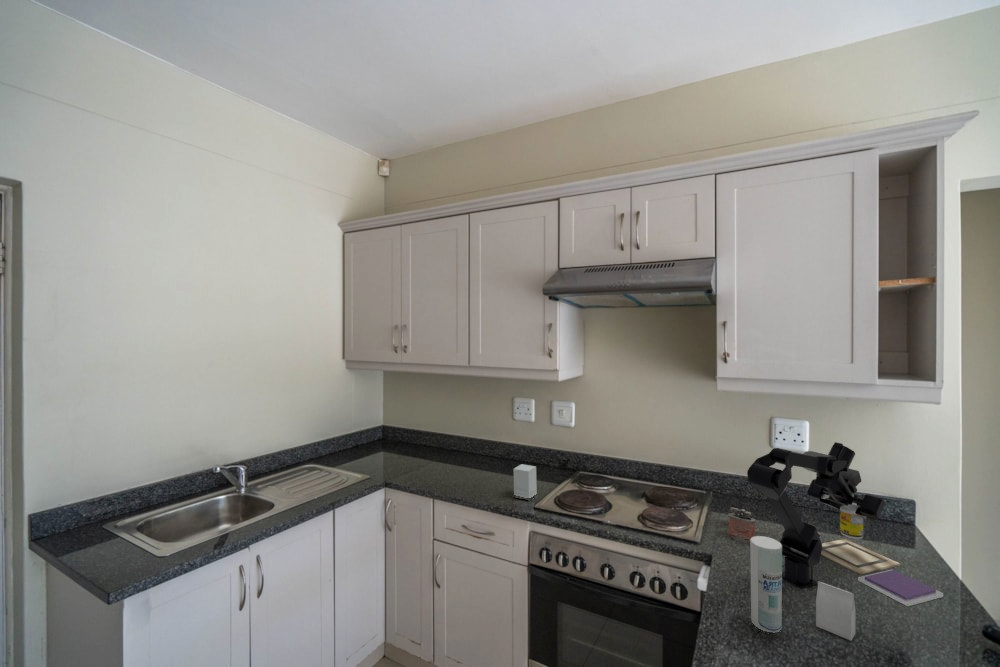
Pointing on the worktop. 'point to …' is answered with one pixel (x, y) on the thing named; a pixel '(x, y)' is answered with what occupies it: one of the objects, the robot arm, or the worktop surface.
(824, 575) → the worktop surface
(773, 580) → the spray can
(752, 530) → the lighter
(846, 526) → the supplement bottle
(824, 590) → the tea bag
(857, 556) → the board
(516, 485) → the supplement box
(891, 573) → the ink pad
